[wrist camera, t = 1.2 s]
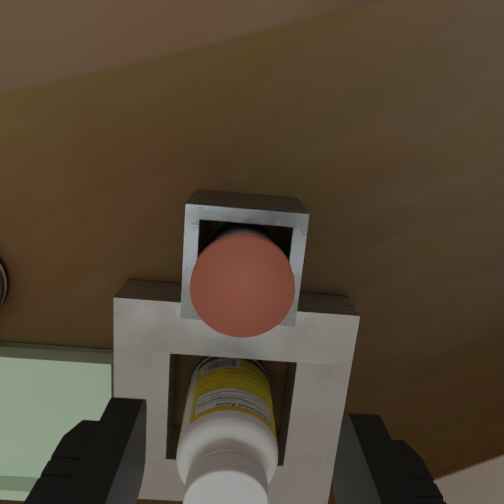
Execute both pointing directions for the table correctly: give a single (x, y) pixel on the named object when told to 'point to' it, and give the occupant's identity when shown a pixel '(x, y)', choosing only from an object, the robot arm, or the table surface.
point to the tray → (45, 405)
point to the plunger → (242, 282)
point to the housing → (239, 354)
